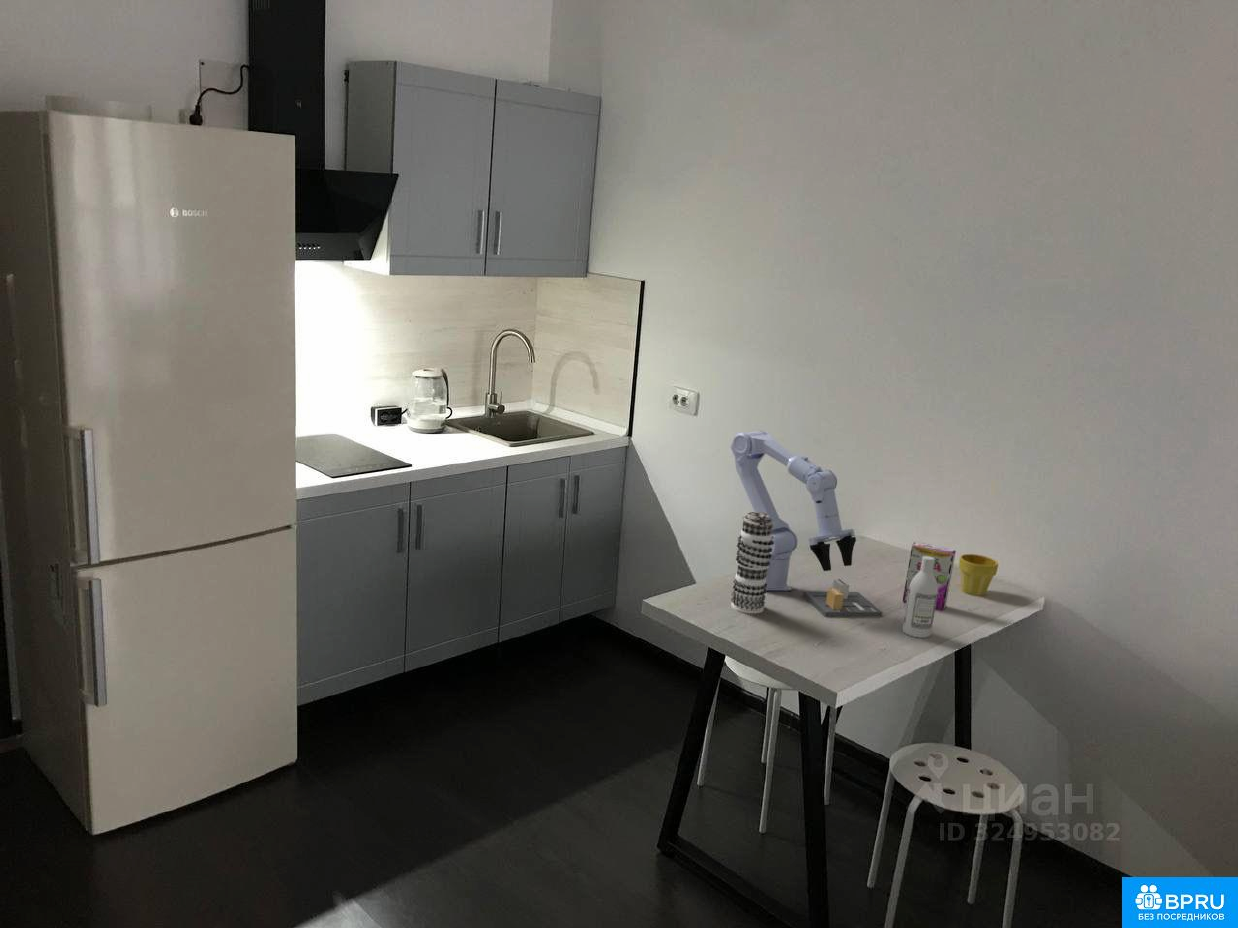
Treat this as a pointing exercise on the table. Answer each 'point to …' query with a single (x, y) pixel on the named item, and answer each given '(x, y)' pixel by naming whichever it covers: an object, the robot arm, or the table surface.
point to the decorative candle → (752, 563)
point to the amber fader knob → (834, 598)
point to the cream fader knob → (841, 587)
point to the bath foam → (921, 601)
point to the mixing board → (843, 605)
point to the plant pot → (976, 573)
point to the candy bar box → (940, 569)
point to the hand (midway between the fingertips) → (837, 568)
